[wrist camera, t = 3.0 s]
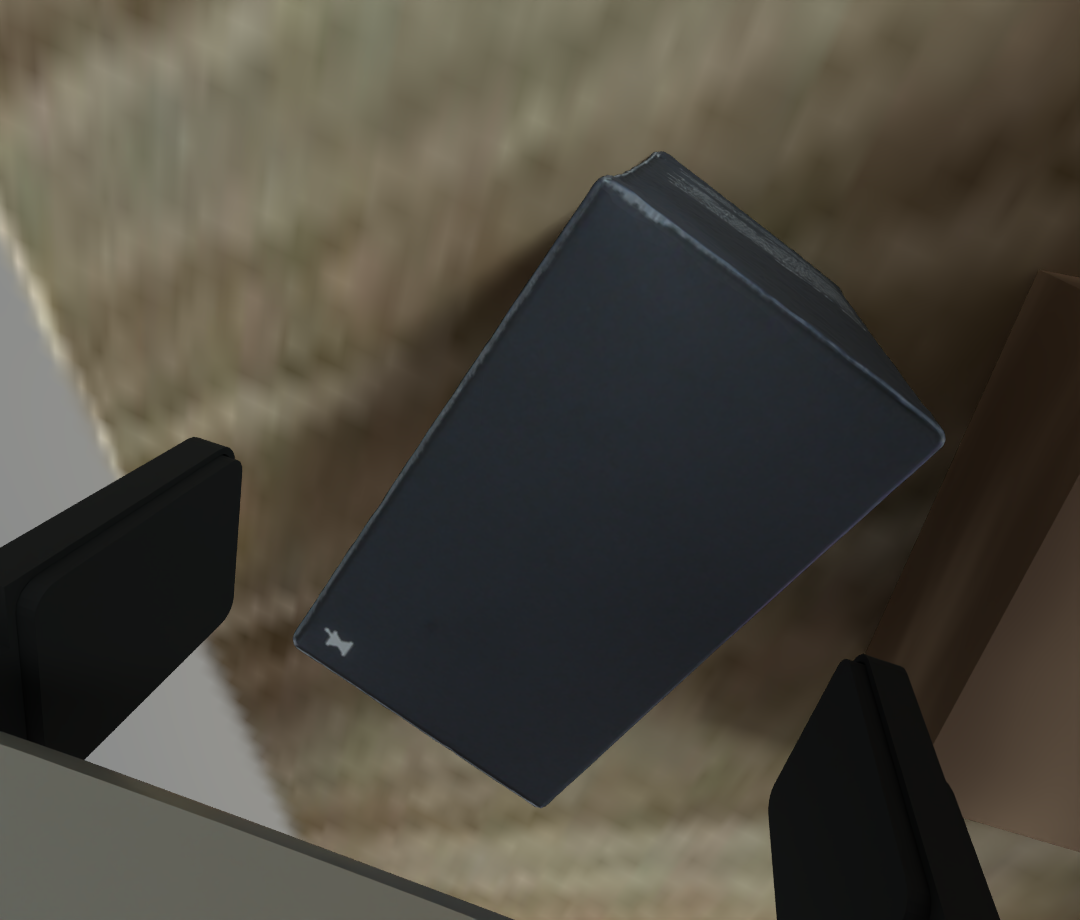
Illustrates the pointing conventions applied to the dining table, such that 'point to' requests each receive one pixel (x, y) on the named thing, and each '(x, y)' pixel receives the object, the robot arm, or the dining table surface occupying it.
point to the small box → (617, 483)
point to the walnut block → (1005, 587)
